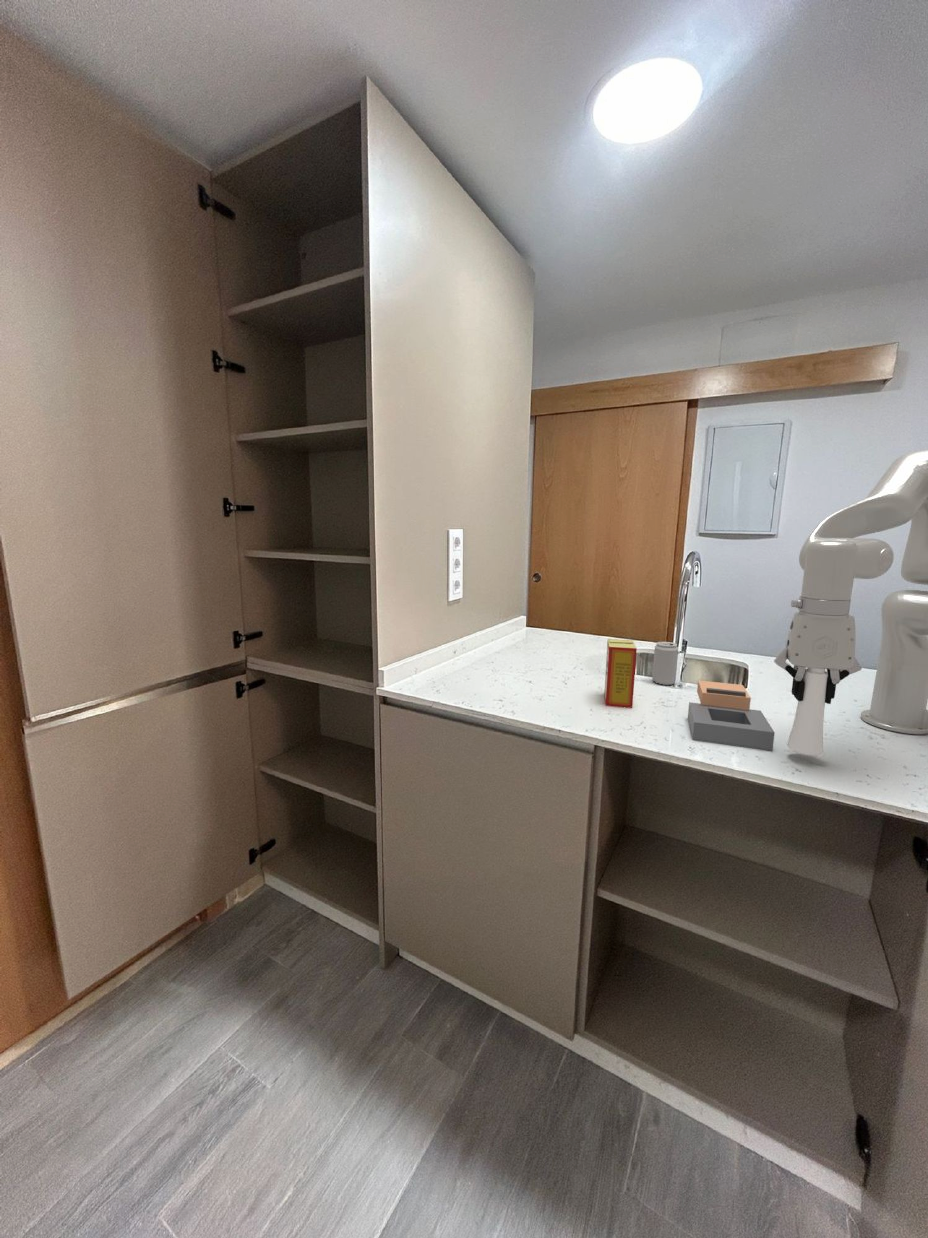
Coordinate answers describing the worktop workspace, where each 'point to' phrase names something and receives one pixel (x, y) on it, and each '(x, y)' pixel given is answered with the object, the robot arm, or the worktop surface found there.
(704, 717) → the socket block
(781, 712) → the worktop surface
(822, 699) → the cosmetic bottle
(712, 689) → the orange slotted box
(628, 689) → the baking soda box
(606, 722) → the worktop surface
